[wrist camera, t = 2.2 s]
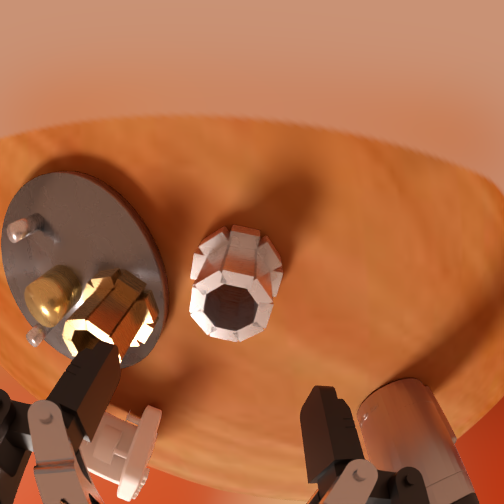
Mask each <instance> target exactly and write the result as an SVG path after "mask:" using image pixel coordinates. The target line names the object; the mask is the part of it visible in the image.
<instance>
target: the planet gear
mask: <svg viewBox="0 0 504 504" xmlns="http://www.w3.org/2000/svg"><path fill="white" fill-rule="evenodd" d="M282 276H283V269H282V262H281V257H280V255H279V254H278V252H277V250H276V249H275V247H274V246H273V244H272V243H271V241H270V239H269V238H268V236H267V235H266V236H264V237H263V238H261V239H260V230H256V229H252V228H247V227H243V226H238V225H234V224H233V226H232V229H231V233H229V231H228V230H227V228H226V227H225V226H224V227H222V228H220V229H219V230H217V231H216V232H214V233H212V234H211V235H209V236H208V237H206V238H205V239H203V240H202V242H201V243H200V245H199V246H198V248H197V249H196V251H195V253H194V257H193V264H192V270H191V277H190V279H195V281H194V283H193V285H192V286H193V289H192V296H191V303H190V310H189V312H191V314H190V315H191V316H192V318H193V319H194V320H195V321H196V322H197V324H198V325H199V326H200V327H201V328H202V329H203V331H204V332H205V333H206V334H207V335H208V334H210V336H211V337H215V338H220V339H224V340H229V341H234V342H237V340H239V341H240V342H241V341H243V340H245V339H247V338H249V337H251V336H253V335H255V334H258V333H260V332H262V331H264V328H266V326H267V323H268V320H269V317H270V314H271V311H272V307H273V297H276V295H277V292H278V289H279V286H280V282H281V279H282Z"/></svg>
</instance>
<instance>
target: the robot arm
mask: <svg viewBox="0 0 504 504" xmlns="http://www.w3.org/2000/svg"><path fill="white" fill-rule="evenodd" d="M120 374H121V369H120V360H119V351H118V346H117V345H114V344H111V343H108V342H105V341H102V340H99V341H98V342H97V344H96V345H95V347H94V348H93V350H91V349H88V348H86V349H84V350H82V351H81V352H79V353H78V354H77V355H76V356H75V357H74V359H73V360H72V362H71V364H70V365H69V366H68V367H67V369H66V372H64V373H63V375H62V376H61V378H60V379H59V381H58V382H57V384H56V385H55V387H54V388H53V390H52V392H51V393H50V395H49V396H48V397H47V399H46V400H39V401H36V402H34V403H33V404H25V403H21V402H17V401H13V400H11V399H10V397H9V395H8V394H7V393H6V392H5V391H3V390H2V389H0V504H13V502H14V498H15V495H16V492H17V489H18V487H19V483H20V481H21V478H22V476H23V473H24V470H25V467H26V465H27V463H28V460H29V458H30V455H31V453H32V451H33V452H34V454H35V458H36V466H34V475H35V479H36V483H37V486H38V489H39V492H40V496H41V499H42V501H43V504H104V502H103V501H102V499H101V497H100V495H99V493H98V491H97V490H96V488H95V486H94V484H93V482H92V479H91V477H90V474H89V471H88V469H87V466H86V463H85V461H84V458H83V455H82V452H81V449H80V445H81V442H82V440H85V441H88V442H90V443H91V442H92V440H93V437H94V435H95V433H96V430H97V428H98V426H99V424H100V421H101V419H102V417H103V415H104V413H105V410H106V408H107V406H108V404H109V402H110V400H111V398H112V396H113V393H114V391H115V389H116V387H117V385H118V383H119V380H120ZM357 418H358V421H359V424H360V428H361V431H362V435H363V438H364V442H365V446H366V449H367V453H368V456H369V460H370V462H369V461H367V460H365V458H364V455H363V452H362V448H361V445H360V441H359V437H358V434H357V430H356V428H355V424H354V420H353V417H352V413H351V410H350V408H349V406H348V405H347V404H346V402H345V401H344V400H343V399H338V398H337V395H336V391H335V388H334V387H331V386H314V388H313V389H312V391H311V393H310V395H309V396H308V398H307V400H306V401H305V403H304V405H303V407H302V409H301V413H300V422H301V430H302V437H303V445H304V452H305V460H306V468H307V477H308V483H318V489H317V490H316V491H315V493H314V494H313V496H312V497H311V498H310V500H309V501H308V502H307V503H306V504H479V501H478V499H477V496H476V494H475V493H474V492H475V491H474V488H473V486H472V483H471V481H470V479H469V476H468V474H467V471H466V470H465V467H464V465H463V462H462V460H461V458H460V456H459V454H458V451H457V449H456V447H455V445H454V444H455V442H456V436H455V434H454V432H453V430H452V428H451V426H450V424H449V422H448V420H447V418H446V417H445V415H444V413H443V411H442V409H441V407H440V405H439V404H438V402H437V400H436V398H435V396H434V395H433V393H432V391H431V389H430V388H429V386H424V385H423V384H422V382H421V381H419V380H418V379H414V378H407V379H402V380H398V381H395V382H392V383H390V384H388V385H386V386H384V387H382V388H380V389H378V390H377V391H376V392H374V393H373V394H371V395H370V396H369V397H368V398H367V399H366V400H365V401H364V402H363V403H362V404H361V406H360V408H359V409H358V413H357Z"/></svg>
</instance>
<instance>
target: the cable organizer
mask: <svg viewBox="0 0 504 504" xmlns="http://www.w3.org/2000/svg"><path fill="white" fill-rule="evenodd" d="M161 415H162V411H161V410H160V409H157V408H155V407H152V406H150V405H148V406H147V407H146V409H145V410H144V412H143V414H142V417H141V419H139V418H136V417H134V416H132V415H130V411H129V413H128V415H127V418H126V421H127V420H128V421H131V422H133V423H135V424H137V425H138V427H137V426H135V425H132V424H130V423H128V422H126V421H124V420H121V419H119V418H117V417H115V416H113V415H111V414H109V413H107V412H105V413H104V415H103V417H102V419H101V421H100V424H99V426H98V428H97V430H96V433H95V435H94V437H93V440H92V442H91V443H90V442H88V441H85V440H82V442H81V445H80V449H81V452H82V455H83V458H84V461H85V463H86V466H87V469H88V471H90V472H92V473H94V474H96V475H98V476H100V477H102V478H104V479H106V480H109V481H111V482H113V483H116V484H119V486H118V490H117V497H119V498H121V499H123V500H126V501H131V499H132V498H133V499H136V496H137V495H138V493H139V491H140V490H141V488H142V486H143V485H145V481H146V480H147V478H148V474H149V470H150V469H148V468H146V466H147V463H148V461H149V459H150V457H151V455H152V451H153V448H154V445H155V441H156V438H157V435H158V433H157V430H158V427H159V423H160V420H161Z"/></svg>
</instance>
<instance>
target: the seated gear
mask: <svg viewBox="0 0 504 504" xmlns="http://www.w3.org/2000/svg"><path fill="white" fill-rule="evenodd" d="M146 285H147V284H146V283H145V282H143V281H142V280H140V279H139V278H138V277H136V276H135V275H133V274H132V273H130V272H129V271H127V270H126V271H125V272H124V273H123V274H122V273H121V270H120V268H116V269H110V270H104V271H100V272H99V273H98V274H96V275H95V276H94V277H93V278H92V279H91V280H90V281H88V282H87V284H86V287H85V290H84V293H83V296H82V298H81V300H82V301H83V303H82V304H81V305H80V306H79V308H78V309H77V310H76V311H75V312H74V313H73V314H72V315H71V316H70V317H69V318H68V319H67V320H66V322H65V326H64V330H63V334H62V336H63V339H64V341H65V343H66V345H67V347H68V348H69V350H70V352H71V354H72V355H73V356H76V355H77V354H78V353H79V352H81V351H82V350H84V349H86V348H88V349H91V350H93V348H94V347H95V345H96V344H97V342H98V341H99V340H102V341H105V342H108V343H111V344H114V345H117V346H118V351H119V360H120V363H121V361H122V359H123V357H124V356H125V354H126V352H127V350H128V349H129V347H130V346H140V344H141V342H142V343H145V341H146V340H147V338H148V337H149V335H150V333H151V332H152V330H153V329H154V327H155V325H156V323H157V321H158V319H159V317H157V316H158V314H159V309H158V306H157V303H156V300H155V298H154V295H153V292H152V290H149V291H144V289H145V287H146Z"/></svg>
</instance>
